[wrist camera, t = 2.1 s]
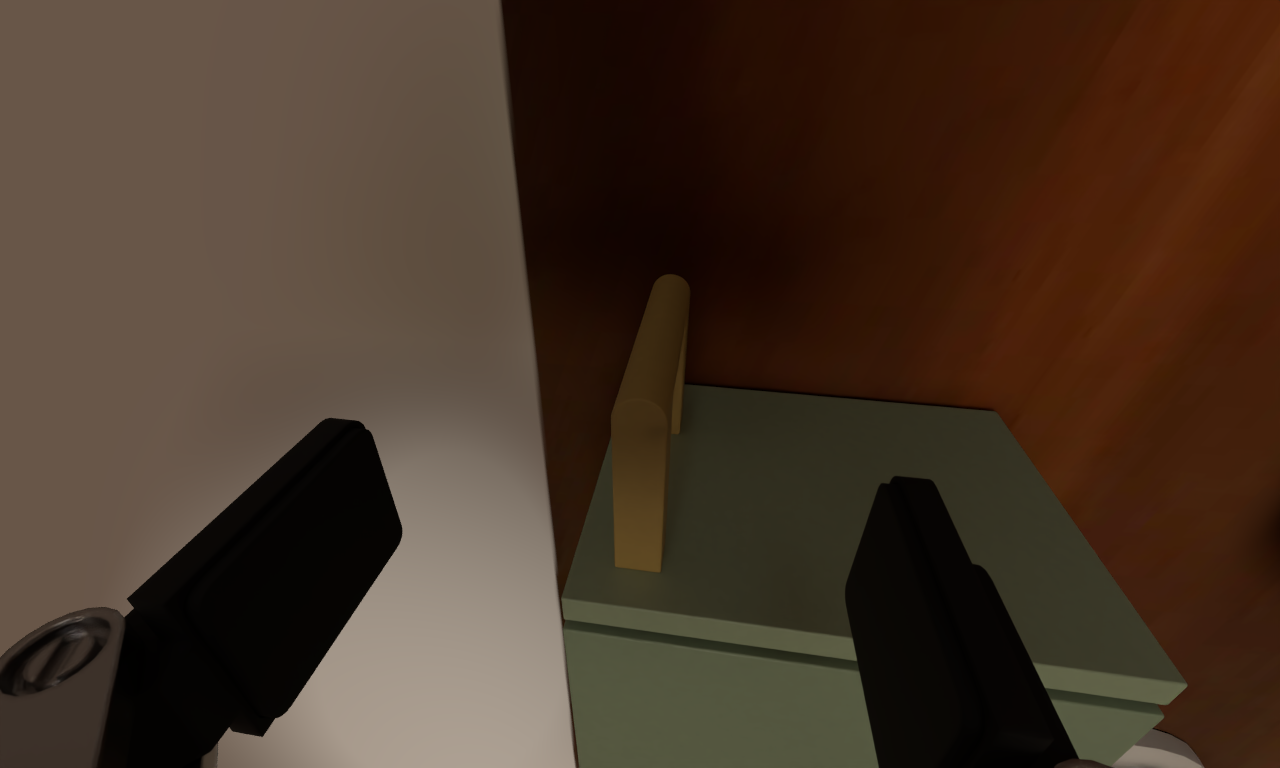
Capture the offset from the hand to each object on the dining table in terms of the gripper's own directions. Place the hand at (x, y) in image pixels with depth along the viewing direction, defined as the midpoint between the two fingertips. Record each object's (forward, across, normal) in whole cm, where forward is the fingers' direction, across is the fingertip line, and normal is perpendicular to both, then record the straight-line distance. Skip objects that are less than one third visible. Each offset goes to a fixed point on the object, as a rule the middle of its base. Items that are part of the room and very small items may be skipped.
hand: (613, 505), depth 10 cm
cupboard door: (+14, -6, +3) cm, 15 cm away
